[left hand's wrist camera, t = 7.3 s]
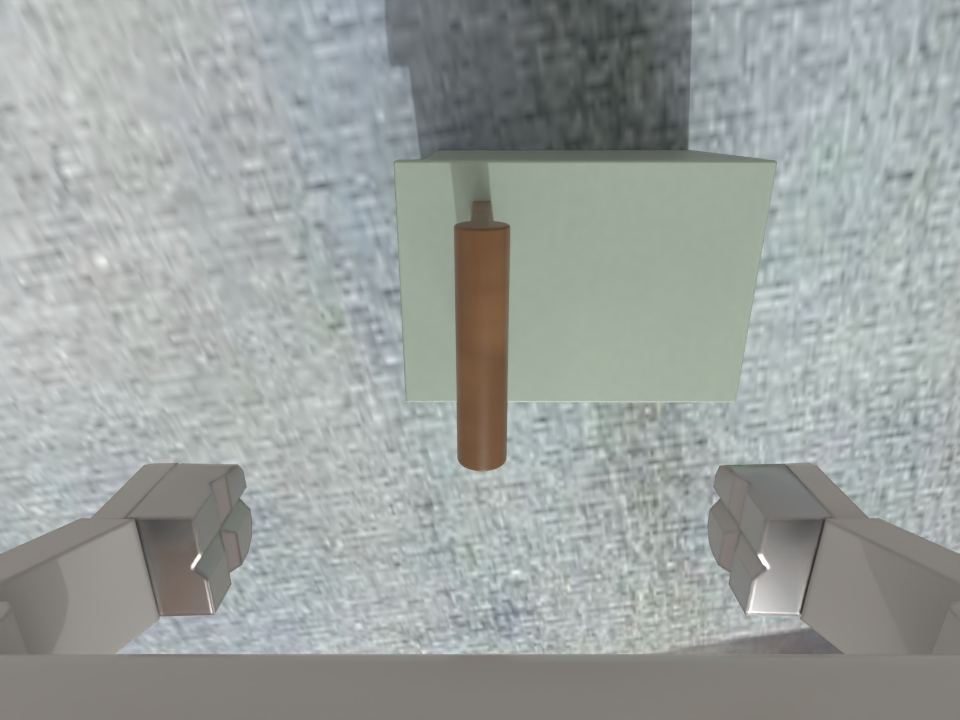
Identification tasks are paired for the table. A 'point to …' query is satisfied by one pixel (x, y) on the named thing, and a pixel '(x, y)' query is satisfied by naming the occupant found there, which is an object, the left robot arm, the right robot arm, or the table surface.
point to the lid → (574, 283)
